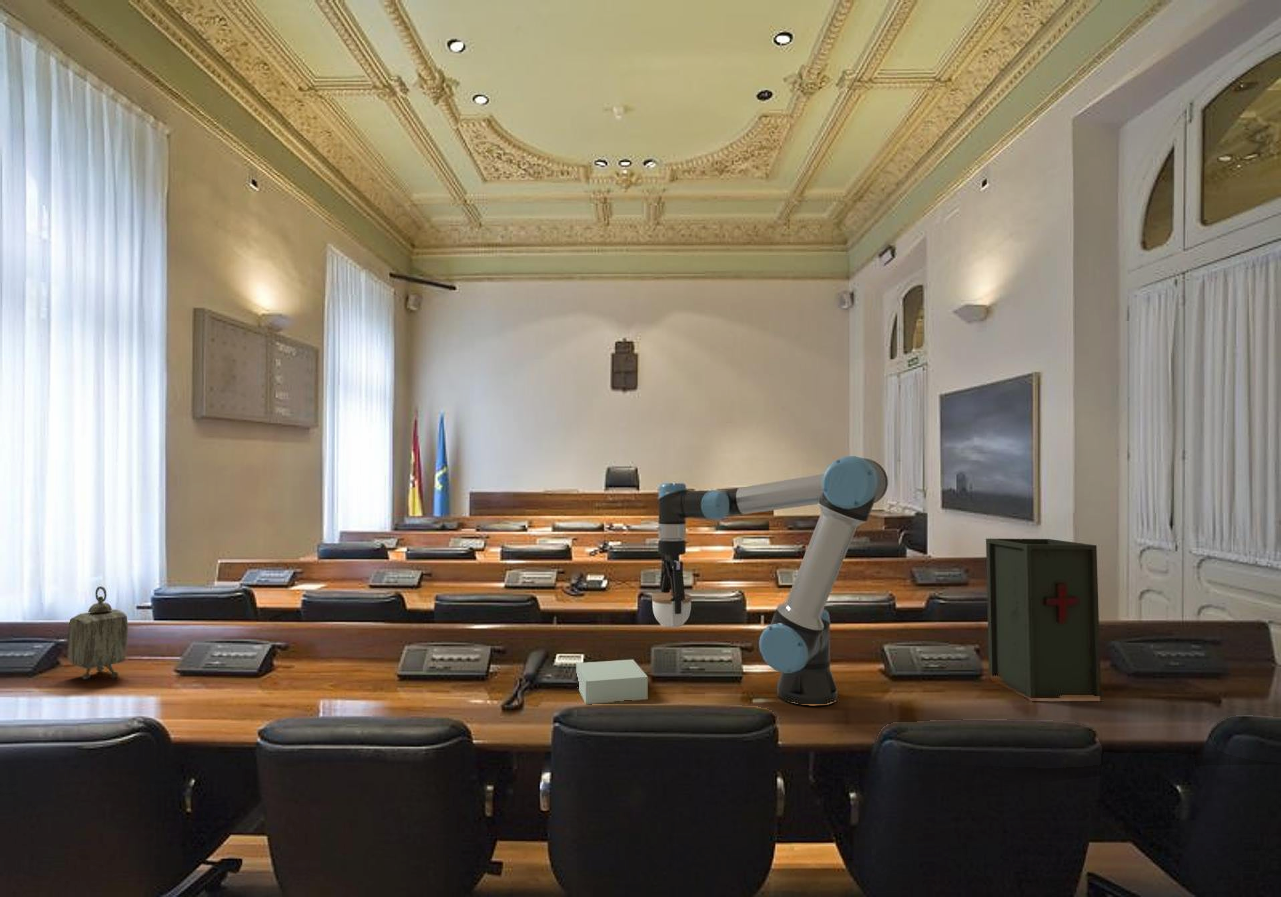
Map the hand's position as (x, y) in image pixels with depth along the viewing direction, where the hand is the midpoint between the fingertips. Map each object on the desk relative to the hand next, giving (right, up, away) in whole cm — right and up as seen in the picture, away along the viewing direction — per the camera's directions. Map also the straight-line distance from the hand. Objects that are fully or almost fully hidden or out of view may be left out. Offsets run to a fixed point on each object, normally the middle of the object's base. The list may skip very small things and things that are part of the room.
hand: (671, 621), depth 170 cm
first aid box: (+101, -19, 0) cm, 103 cm away
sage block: (-16, -18, -4) cm, 25 cm away
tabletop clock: (-160, -17, +4) cm, 161 cm away
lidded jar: (0, -1, 0) cm, 1 cm away
